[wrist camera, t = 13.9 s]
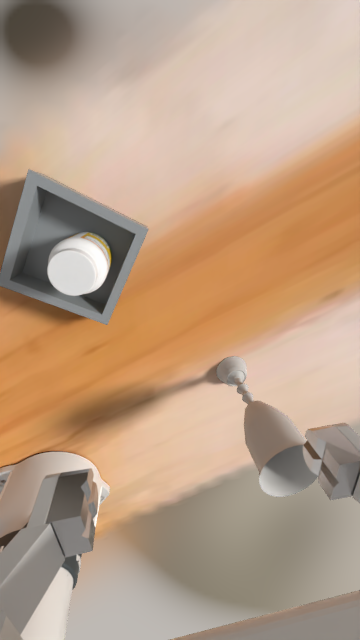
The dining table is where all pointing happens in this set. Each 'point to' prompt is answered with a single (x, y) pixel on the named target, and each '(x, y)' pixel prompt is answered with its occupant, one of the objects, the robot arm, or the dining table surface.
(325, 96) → the dining table surface
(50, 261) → the supplement bottle
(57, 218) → the tray
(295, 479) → the chalice
